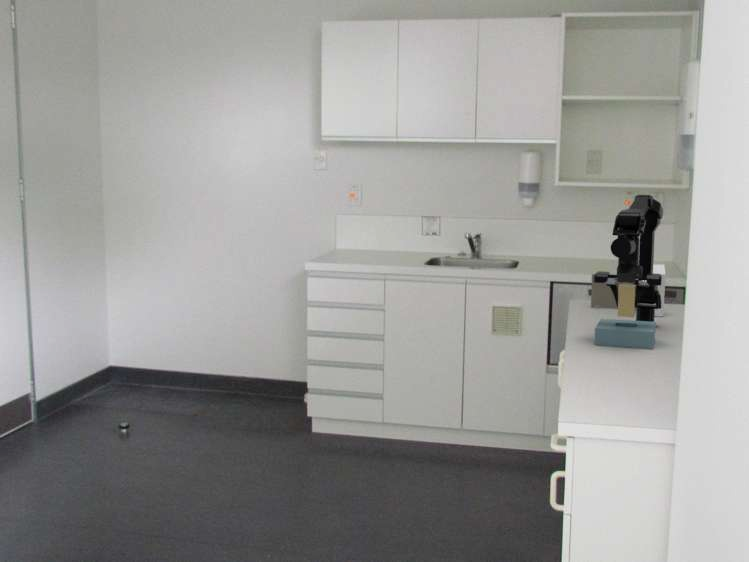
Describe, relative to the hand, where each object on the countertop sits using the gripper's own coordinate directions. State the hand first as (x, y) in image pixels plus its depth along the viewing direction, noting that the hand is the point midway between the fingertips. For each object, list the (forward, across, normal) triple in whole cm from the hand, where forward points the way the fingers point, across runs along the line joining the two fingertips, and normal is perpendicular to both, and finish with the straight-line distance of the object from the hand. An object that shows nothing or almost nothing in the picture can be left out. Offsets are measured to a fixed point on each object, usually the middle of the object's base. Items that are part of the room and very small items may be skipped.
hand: (626, 307), depth 232 cm
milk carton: (+11, +5, +49) cm, 50 cm away
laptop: (+11, -8, +63) cm, 64 cm away
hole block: (+10, 0, 0) cm, 10 cm away
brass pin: (+2, 0, 0) cm, 2 cm away
